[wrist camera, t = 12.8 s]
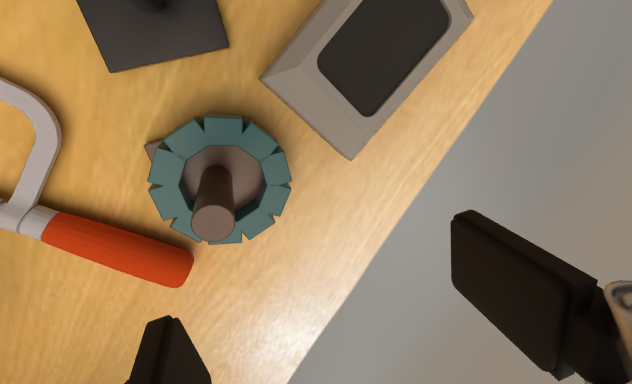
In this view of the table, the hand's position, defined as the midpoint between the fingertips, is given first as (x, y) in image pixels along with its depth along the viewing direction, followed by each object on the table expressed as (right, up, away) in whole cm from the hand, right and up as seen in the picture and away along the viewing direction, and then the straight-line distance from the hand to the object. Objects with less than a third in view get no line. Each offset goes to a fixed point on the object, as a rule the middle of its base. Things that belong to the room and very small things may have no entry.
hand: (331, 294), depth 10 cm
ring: (-8, +5, +14) cm, 17 cm away
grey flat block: (+3, +15, +15) cm, 21 cm away
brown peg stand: (-9, +5, +15) cm, 18 cm away
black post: (-11, +16, +10) cm, 22 cm away
